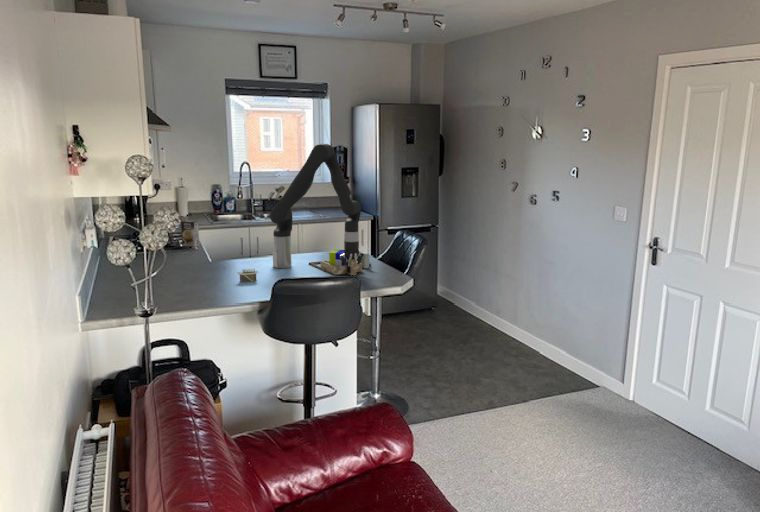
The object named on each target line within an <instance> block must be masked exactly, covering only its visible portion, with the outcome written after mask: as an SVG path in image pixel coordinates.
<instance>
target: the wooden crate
mask: <svg viewBox="0 0 760 512" xmlns="http://www.w3.org/2000/svg"><path fill="white" fill-rule="evenodd" d="M258 274H259V271H258V270H256V269H255V268H251V269H244V268H243V269H242V271H238V272H237V275H239V282H240V283H241V282H244V283H245V282H253V283H254V282H257V275H258Z"/></svg>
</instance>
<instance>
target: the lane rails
mask: <svg viewBox="0 0 760 512" xmlns="http://www.w3.org/2000/svg"><path fill="white" fill-rule="evenodd" d="M321 261H322V260H320V261H310V262H308V265H309V266H311V267H314V268H316V269H319V270H320V271H322V272H326V270H325V269H324V268H322V267H321ZM319 265H320V266H319ZM371 266H372V263H370V262H369V267H371Z"/></svg>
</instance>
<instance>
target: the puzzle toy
mask: <svg viewBox="0 0 760 512" xmlns="http://www.w3.org/2000/svg"><path fill="white" fill-rule="evenodd" d="M344 251H345V250H344V249H333V250H331V251H329V256H328V257H329V258H328V260H329V264H331V265H333V266H345V265H343V263H342V261H341V259H340V257H339V255H342V254H344ZM344 259H345V261H346V256H345V258H344Z"/></svg>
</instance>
